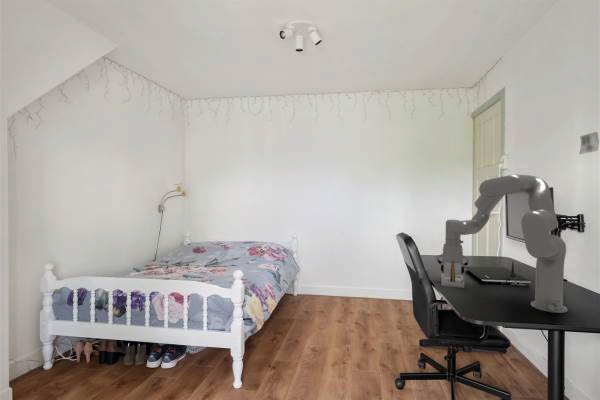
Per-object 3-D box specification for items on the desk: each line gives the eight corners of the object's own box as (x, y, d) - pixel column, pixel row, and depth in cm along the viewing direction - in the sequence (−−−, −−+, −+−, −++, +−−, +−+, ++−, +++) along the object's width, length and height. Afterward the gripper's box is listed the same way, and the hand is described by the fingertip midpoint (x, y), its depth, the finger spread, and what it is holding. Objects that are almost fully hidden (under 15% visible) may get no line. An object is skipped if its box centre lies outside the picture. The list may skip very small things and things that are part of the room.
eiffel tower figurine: (498, 284, 180) (498, 260, 180) (495, 279, 189) (495, 256, 189) (530, 287, 174) (531, 262, 174) (525, 282, 184) (526, 259, 183)
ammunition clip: (454, 283, 175) (455, 261, 175) (451, 283, 176) (451, 261, 176) (454, 279, 185) (454, 258, 185) (450, 278, 186) (450, 257, 186)
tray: (464, 288, 170) (464, 283, 170) (441, 285, 175) (441, 281, 175) (462, 279, 187) (462, 275, 187) (441, 277, 191) (441, 273, 191)
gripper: (469, 242, 180) (469, 273, 181) (435, 240, 187) (435, 270, 187) (471, 244, 173) (470, 276, 174) (435, 242, 180) (435, 273, 181)
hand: (452, 273), depth 181 cm, fingers open, 9 cm apart
